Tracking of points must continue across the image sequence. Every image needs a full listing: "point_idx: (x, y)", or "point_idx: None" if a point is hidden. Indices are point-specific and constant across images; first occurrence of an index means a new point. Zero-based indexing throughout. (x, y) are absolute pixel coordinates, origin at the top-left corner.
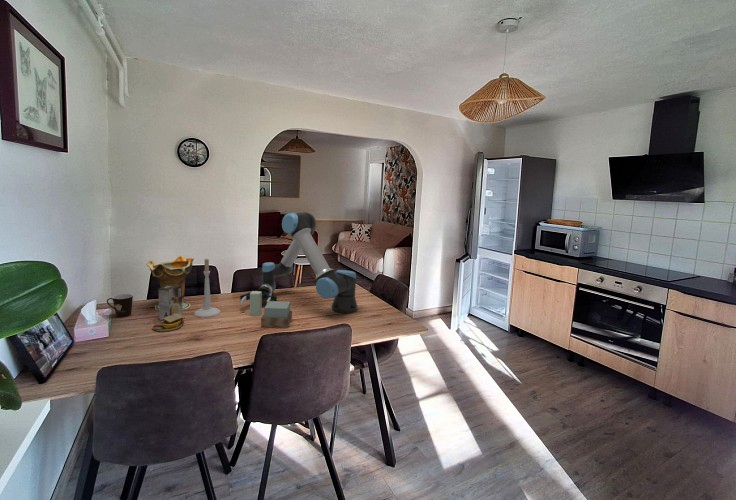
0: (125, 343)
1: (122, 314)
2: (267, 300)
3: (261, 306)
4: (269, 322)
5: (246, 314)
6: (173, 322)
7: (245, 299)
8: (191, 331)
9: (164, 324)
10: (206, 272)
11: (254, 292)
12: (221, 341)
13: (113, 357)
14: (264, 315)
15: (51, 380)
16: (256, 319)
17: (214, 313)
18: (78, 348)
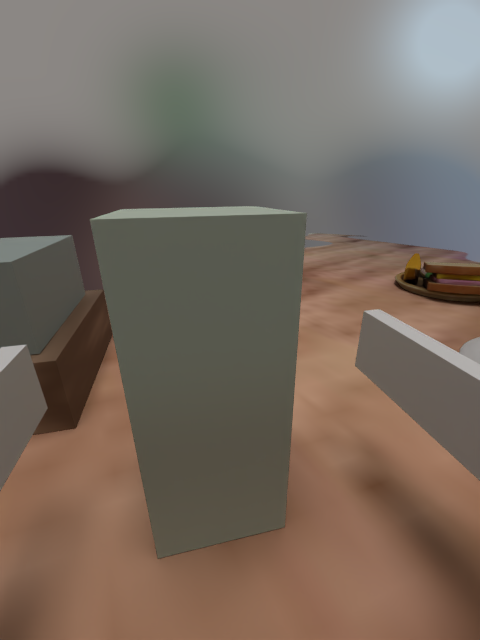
0: (396, 258)
1: None
2: (10, 355)
3: (144, 484)
4: None
5: (294, 444)
6: (424, 268)
7: (460, 416)
8: (343, 286)
9: (412, 256)
10: None
11: (220, 209)
12: None
13: (347, 248)
14: (81, 282)
15: (342, 237)
16: None
17: (474, 356)
18: (433, 249)
